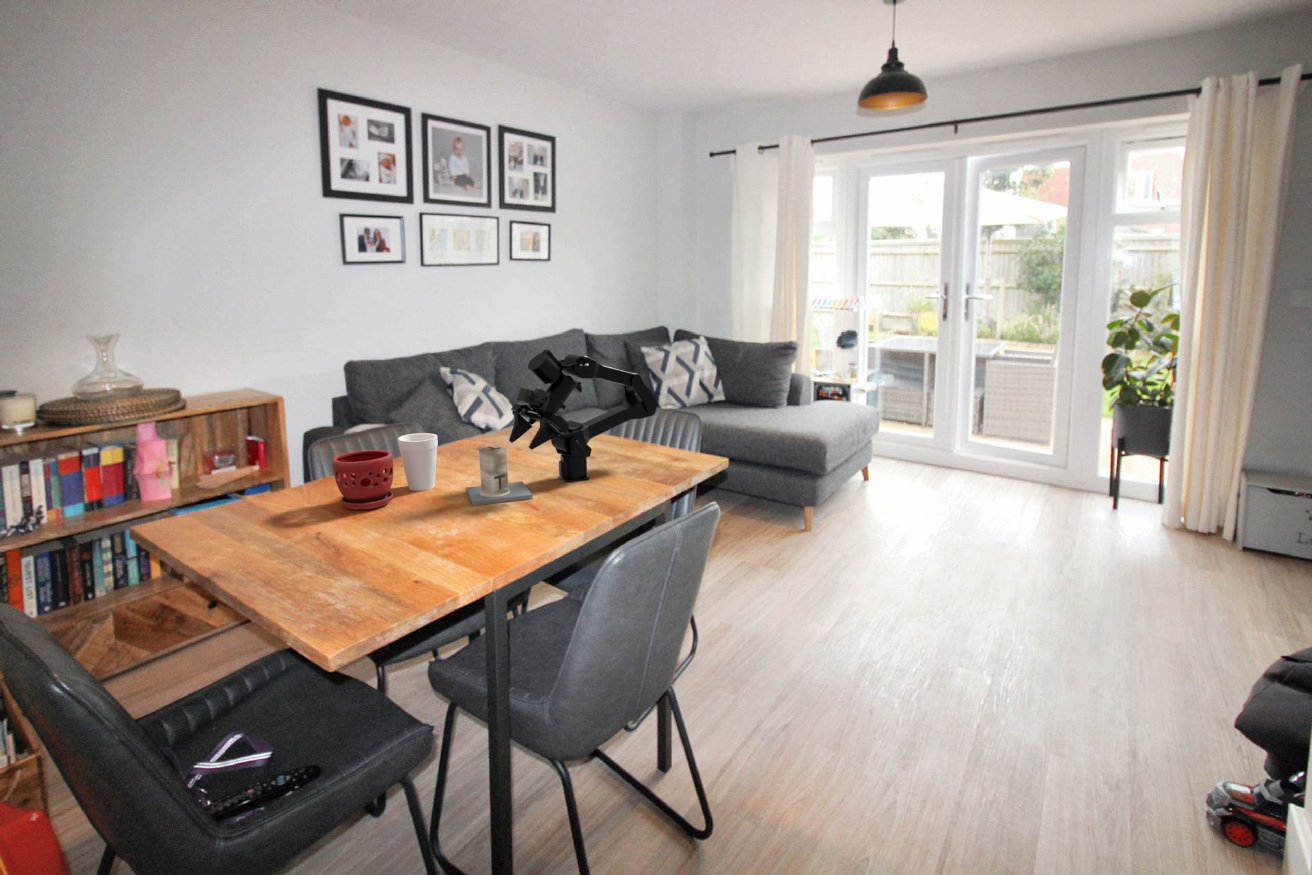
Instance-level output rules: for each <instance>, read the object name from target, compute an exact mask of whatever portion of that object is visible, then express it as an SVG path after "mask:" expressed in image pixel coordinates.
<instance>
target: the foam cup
mask: <svg viewBox="0 0 1312 875" xmlns="http://www.w3.org/2000/svg"><path fill="white" fill-rule="evenodd" d="M397 442H398V443H397V444H398V449H399V451H400V456H401V461H402V465H403V470H404V474H405V480H406V483H407V487H408V489H409V490H410V491H415V492H421V491H428V490H432V489H433V488H435V486H436V485H435V484H436V471H437V470H436V469H437V468H436V467H437V454H438V453H437V452H438V451H437V450H438V446H439V443H438V434H435V433H430V432H429V433H428V432H419V433H418V432H417V433H410V434H409V433H408V434H403V435H401V436H399V437H398V438H397Z"/></svg>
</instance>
